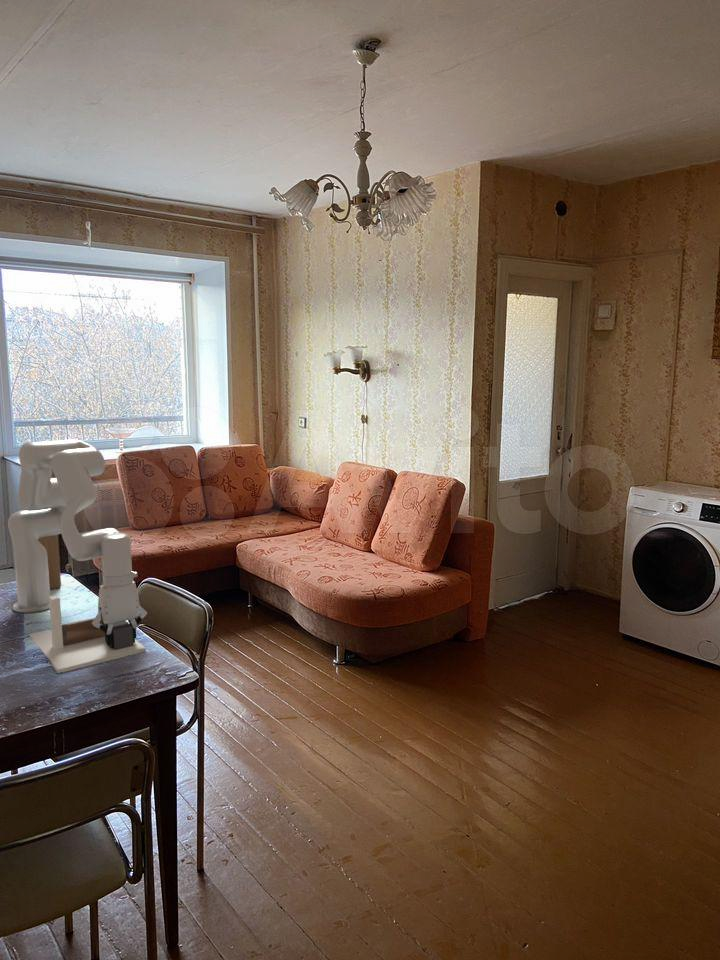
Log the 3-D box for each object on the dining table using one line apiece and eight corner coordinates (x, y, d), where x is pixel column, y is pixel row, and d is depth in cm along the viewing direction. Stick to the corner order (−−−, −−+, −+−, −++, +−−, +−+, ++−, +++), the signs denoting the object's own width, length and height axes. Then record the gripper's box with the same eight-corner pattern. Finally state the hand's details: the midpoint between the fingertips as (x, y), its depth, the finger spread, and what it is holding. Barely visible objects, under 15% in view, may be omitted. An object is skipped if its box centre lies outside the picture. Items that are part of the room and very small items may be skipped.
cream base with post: (28, 637, 199) (24, 586, 196) (108, 620, 212) (105, 572, 210) (58, 673, 175) (53, 616, 173) (145, 651, 189) (142, 598, 187)
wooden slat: (62, 644, 191) (60, 624, 190) (116, 631, 200) (115, 613, 199) (63, 645, 190) (62, 626, 189) (118, 633, 199) (117, 614, 198)
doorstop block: (105, 641, 193) (103, 622, 193) (123, 636, 196) (122, 618, 196) (115, 650, 187) (113, 630, 186) (133, 645, 190) (132, 626, 189)
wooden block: (29, 592, 238) (25, 535, 235) (28, 584, 247) (24, 529, 244) (61, 588, 243) (57, 532, 240) (59, 580, 252) (55, 526, 249)
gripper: (143, 570, 196) (146, 632, 198) (80, 582, 185) (85, 647, 188) (153, 577, 190) (157, 640, 193) (89, 589, 179) (93, 656, 182)
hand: (121, 643), depth 190 cm, fingers closed on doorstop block, 5 cm apart
